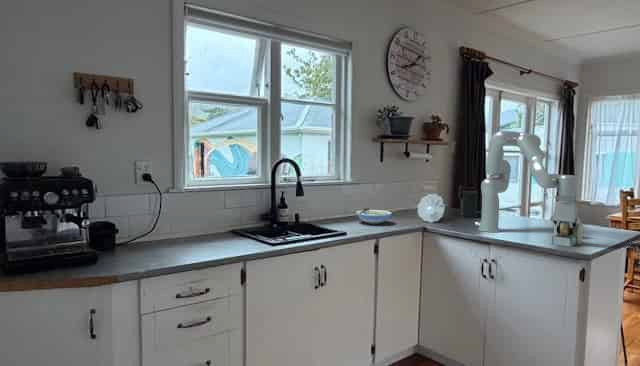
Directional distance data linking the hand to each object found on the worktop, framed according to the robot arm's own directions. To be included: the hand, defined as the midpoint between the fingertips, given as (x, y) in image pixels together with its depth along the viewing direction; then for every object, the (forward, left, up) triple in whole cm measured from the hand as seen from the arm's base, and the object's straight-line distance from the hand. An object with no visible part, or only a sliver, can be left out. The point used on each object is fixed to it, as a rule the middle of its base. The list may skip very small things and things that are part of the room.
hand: (564, 234), depth 216 cm
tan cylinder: (0, 0, -2) cm, 2 cm away
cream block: (0, +1, -5) cm, 5 cm away
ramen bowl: (-104, -23, -5) cm, 107 cm away
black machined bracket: (-77, +53, -5) cm, 93 cm away
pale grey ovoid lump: (-85, +16, -5) cm, 87 cm away
